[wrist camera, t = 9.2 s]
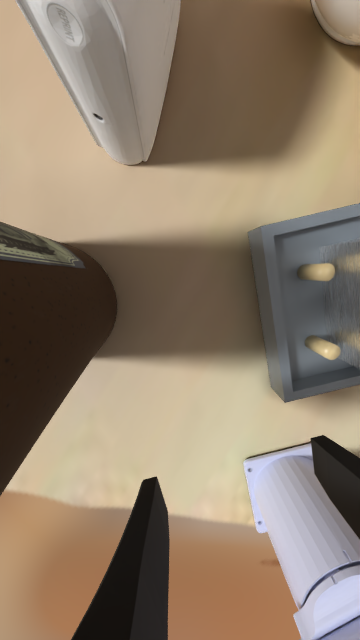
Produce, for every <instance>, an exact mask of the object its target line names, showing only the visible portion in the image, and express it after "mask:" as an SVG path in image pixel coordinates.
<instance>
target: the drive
mask: <svg viewBox="0 0 360 640" xmlns="http://www.w3.org/2000/svg"><path fill="white" fill-rule="evenodd" d="M319 248H320V261H321V264H324V263H329V264H332V265H333V266H334V268H335V274H334V276H333V278H332V279H331V280H329V281H322V285H323V297H324V309H325V322H326V334H327V341H328V342H331V343H333V344H335V345H337V346H339V347H340V350H341V352H340V355H339V356H338V357H337V358H339V359H341V360H343V361H345V362H347V363H348V364H350V365H352V366H354V367H356V368H358V369H360V238H357V239H352V240H348V241H344V242H340V243H335V244H331V245H327V246H323V247H319Z"/></svg>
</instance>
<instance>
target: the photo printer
mask: <svg viewBox="0 0 360 640" xmlns="http://www.w3.org/2000/svg"><path fill="white" fill-rule="evenodd" d="M15 1H16V3H17V4H18V6H19V8H20V9H21V11H22V13H23V15H24V16H25V18H26V20H27V22H28V23H29V25H30V27H31V29H32V30H33V32H34V34H35V36H36V38H37V39H38V41H39V43H40V44H41V46H42V48H43V50H44V52H45V54H46V55H47V57H48V59H49V61H50V62H51V64H52V66H53V68H54V69H55V71H56V73H57V75H58V77H59V78H60V80H61V82H62V84H63V85H64V87H65V89H66V91H67V92H68V94H69V96H70V98H71V100H72V101H73V103H74V105H75V107H76V108H77V110H78V112H79V114H80V116H81V117H82V119H83V121H84V123H85V125H86V126H87V128H88V130H89V132H90V134H91V135H92V137H93V139H94V141H95V142H96V144H97V145H98V146H100V147H102V148H104V149H105V151H106V152H107V153H108V155H109V156H110V157H111V158H113V159H114V160H115V161H117V162H119V163H122V164H126V165H134V164H138V163H140V162H141V161H145V162H146V161H147V160H148V157H149V155H150V153H151V150H152V147H153V144H154V141H155V137H156V133H157V128H158V124H159V120H160V116H161V111H162V107H163V102H164V98H165V93H166V88H167V83H168V78H169V73H170V68H171V63H172V57H173V52H174V46H175V41H176V35H177V29H178V23H179V14H180V4H181V0H15Z"/></svg>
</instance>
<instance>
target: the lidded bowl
mask: <svg viewBox="0 0 360 640" xmlns="http://www.w3.org/2000/svg"><path fill="white" fill-rule="evenodd" d="M311 5H312V8H313V11H314V14H315V16H316V18H317V20H318V22H319V24H320V25H321V27H322V28H323V30H324V31H325V32H326V33H327V34H328V35H329V36H330V37H332V38H333V39H335V40H336V41H338V42H340V43H342V44H346V45H351V46H359V45H360V0H311Z"/></svg>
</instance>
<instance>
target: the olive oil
mask: <svg viewBox="0 0 360 640" xmlns="http://www.w3.org/2000/svg"><path fill="white" fill-rule="evenodd" d="M116 313H117V301H116V295H115V291H114V288H113V285H112V283H111V281H110V279H109V277H108V276H107V274H106V272H105V271H104V270H103V269H102V267H101V266H100V265H99V264H98V263H97V262H96V261H95V260H94V259H92V258H91V257H90V256H89V255H87V254H86V253H84V252H82V251H80V250H78V249H76V248H74V247H72V246H69V245H66V244H63V243H60V242H57V241H53V240H51V239H48V238H45V237H42V236H39V235H36V234H33V233H30V232H27V231H25V230H22V229H19V228H16V227H13V226H11V225H8V224H5V223H2V222H0V495H1V494H2V492H3V491H4V489H5V488H6V486H7V485H8V483H9V482H10V480H11V479H12V477H13V476H14V474H15V473H16V471H17V470H18V468H19V467H20V465H21V464H22V462H23V461H24V459H25V458H26V456H27V455H28V453H29V452H30V450H31V448H32V447H33V445H34V444H35V442H36V441H37V439H38V438H39V436H40V435H41V433H42V432H43V430H44V429H45V427H46V426H47V424H48V423H49V421H50V420H51V418H52V417H53V415H54V414H55V412H56V411H57V409H58V408H59V406H60V405H61V403H62V402H63V400H64V399H65V397H66V396H67V394H68V393H69V391H70V390H71V389H72V387H73V386H74V384H75V383H76V381H77V380H78V378H79V377H80V375H81V374H82V372H83V371H84V369H85V368H86V366H87V365H88V364H89V362H90V361H91V359H92V358H93V357H94V355H95V354H96V352H97V351H98V350H99V348H100V347H101V346H102V344H103V343H104V342H105V340H106V339H107V337H108V336H109V334H110V332H111V330H112V328H113V326H114V323H115V319H116Z"/></svg>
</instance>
